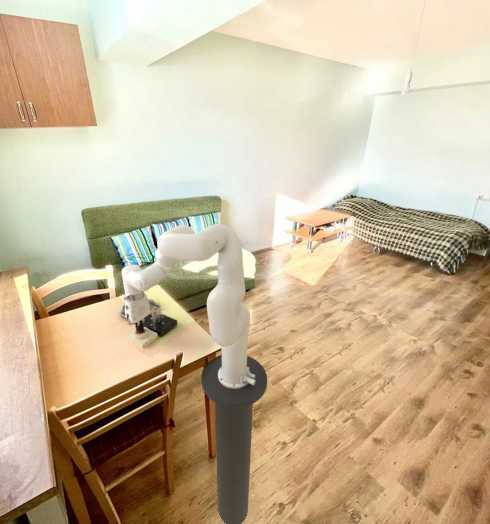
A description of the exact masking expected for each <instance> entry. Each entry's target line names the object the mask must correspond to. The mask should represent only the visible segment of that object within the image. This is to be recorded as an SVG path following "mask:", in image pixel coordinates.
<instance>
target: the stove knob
mask: <svg viewBox="0 0 490 524" xmlns="http://www.w3.org/2000/svg"><path fill="white" fill-rule="evenodd" d="M151 313H152V321H153V323H155V324H158V323H160V322H162V316H161V314H162V310H161V309H158V308H156V309H154V310H153V311H152V312H151Z"/></svg>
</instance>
